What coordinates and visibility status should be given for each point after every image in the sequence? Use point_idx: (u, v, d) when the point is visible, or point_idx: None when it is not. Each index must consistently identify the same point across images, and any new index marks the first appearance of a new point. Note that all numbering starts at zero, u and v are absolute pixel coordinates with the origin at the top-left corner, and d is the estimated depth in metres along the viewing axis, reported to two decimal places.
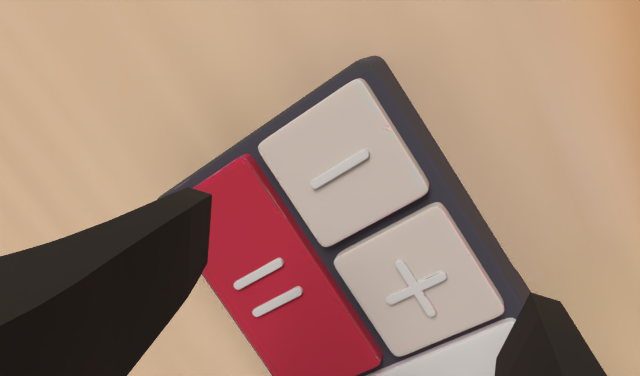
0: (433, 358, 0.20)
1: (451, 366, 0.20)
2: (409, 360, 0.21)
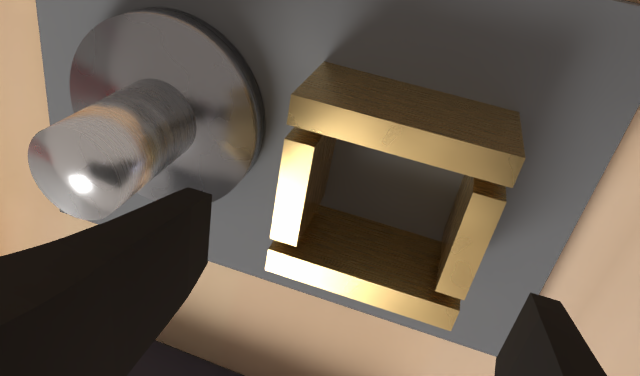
0: None
1: None
2: None
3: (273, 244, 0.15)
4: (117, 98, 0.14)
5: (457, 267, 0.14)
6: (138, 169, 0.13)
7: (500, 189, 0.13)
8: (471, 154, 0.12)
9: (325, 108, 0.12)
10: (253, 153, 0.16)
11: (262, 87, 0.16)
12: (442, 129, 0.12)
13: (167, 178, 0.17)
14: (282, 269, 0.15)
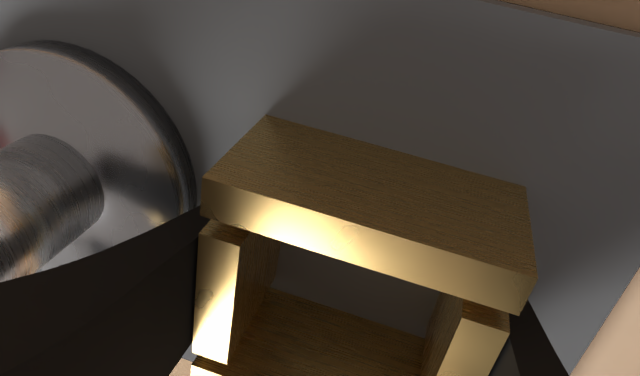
0: None
1: None
2: None
3: (200, 356, 0.11)
4: None
5: None
6: None
7: None
8: (459, 269, 0.08)
9: (250, 198, 0.09)
10: None
11: (189, 144, 0.12)
12: (417, 229, 0.09)
13: (75, 254, 0.14)
14: None
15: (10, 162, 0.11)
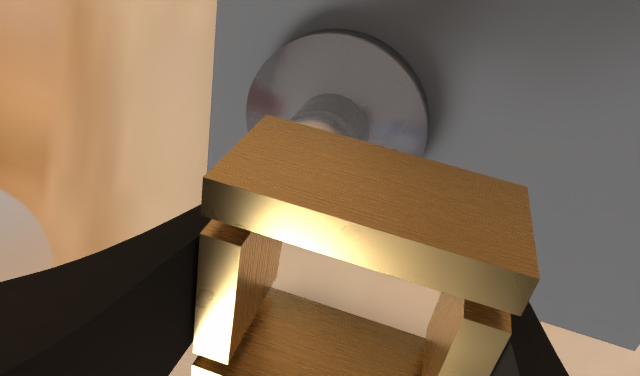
0: None
1: None
2: None
3: (200, 356, 0.11)
4: (319, 112, 0.16)
5: None
6: None
7: None
8: (461, 269, 0.08)
9: (251, 197, 0.09)
10: None
11: (430, 101, 0.17)
12: (419, 229, 0.09)
13: None
14: None
15: (331, 109, 0.16)
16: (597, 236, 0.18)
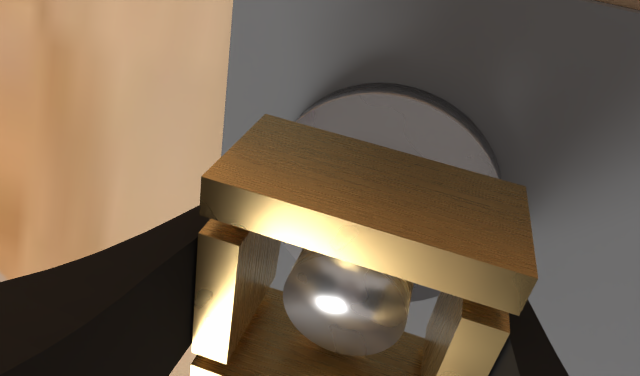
0: None
1: None
2: None
3: (199, 356, 0.11)
4: None
5: None
6: (411, 295, 0.11)
7: None
8: (459, 269, 0.08)
9: (250, 197, 0.09)
10: None
11: (505, 175, 0.14)
12: (417, 228, 0.09)
13: None
14: None
15: None
16: None
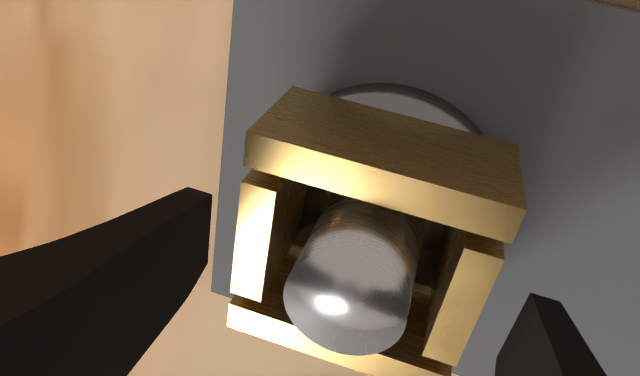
0: None
1: None
2: None
3: (235, 297, 0.13)
4: None
5: (447, 330, 0.11)
6: None
7: (497, 241, 0.11)
8: (462, 204, 0.10)
9: (287, 148, 0.10)
10: None
11: None
12: (427, 173, 0.10)
13: None
14: (246, 326, 0.13)
15: None
16: None
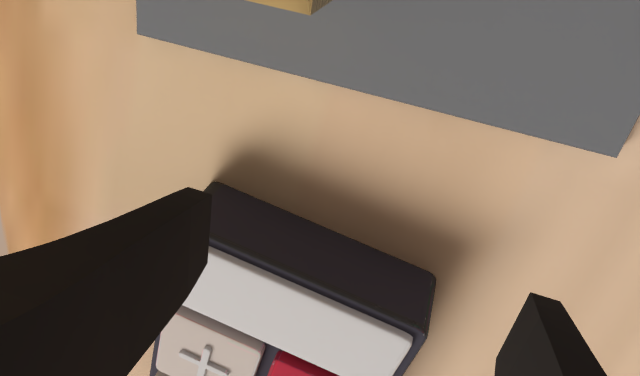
0: (239, 328, 0.22)
1: (233, 314, 0.22)
2: None
3: None
4: None
5: None
6: None
7: None
8: None
9: None
10: None
11: None
12: None
13: None
14: None
15: None
16: (571, 5, 0.16)
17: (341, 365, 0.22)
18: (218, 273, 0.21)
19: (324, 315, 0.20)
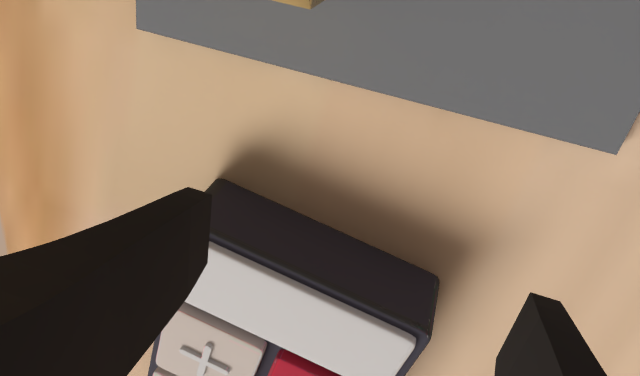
0: (242, 326, 0.22)
1: (236, 311, 0.22)
2: None
3: None
4: None
5: None
6: None
7: None
8: None
9: None
10: None
11: None
12: None
13: None
14: None
15: None
16: (572, 1, 0.16)
17: (342, 365, 0.22)
18: (223, 271, 0.21)
19: (328, 315, 0.20)
